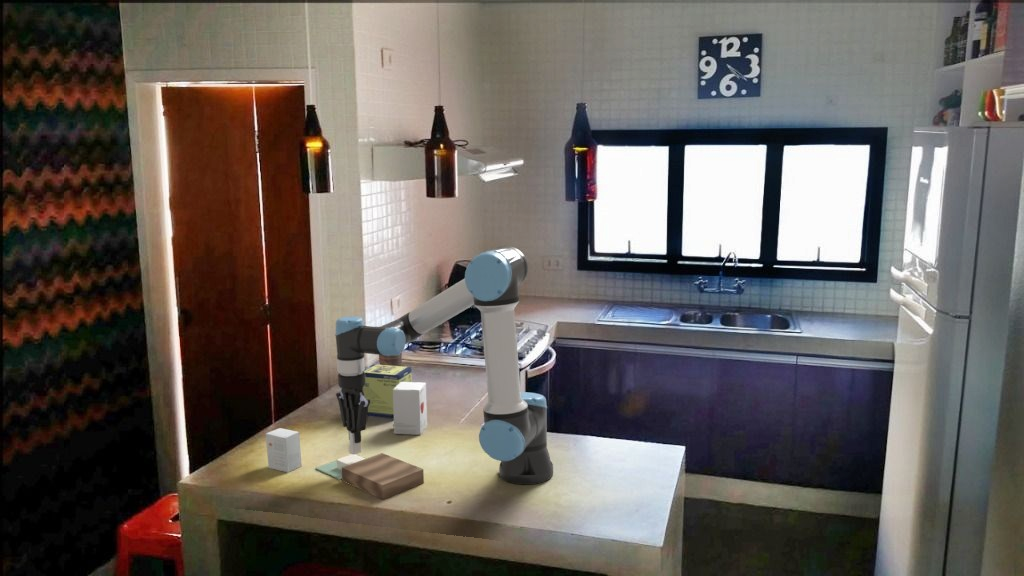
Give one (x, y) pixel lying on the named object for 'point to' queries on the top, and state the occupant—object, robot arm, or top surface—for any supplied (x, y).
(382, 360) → the mortar and pestle
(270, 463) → the small box
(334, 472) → the mat
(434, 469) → the top surface
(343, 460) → the tile
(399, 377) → the protein box
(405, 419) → the supplement box
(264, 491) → the top surface
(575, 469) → the top surface
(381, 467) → the plate
